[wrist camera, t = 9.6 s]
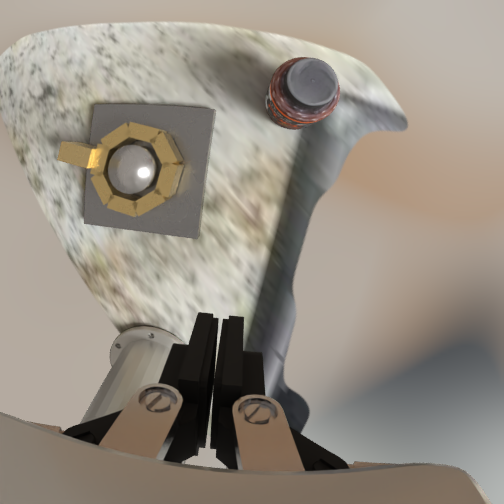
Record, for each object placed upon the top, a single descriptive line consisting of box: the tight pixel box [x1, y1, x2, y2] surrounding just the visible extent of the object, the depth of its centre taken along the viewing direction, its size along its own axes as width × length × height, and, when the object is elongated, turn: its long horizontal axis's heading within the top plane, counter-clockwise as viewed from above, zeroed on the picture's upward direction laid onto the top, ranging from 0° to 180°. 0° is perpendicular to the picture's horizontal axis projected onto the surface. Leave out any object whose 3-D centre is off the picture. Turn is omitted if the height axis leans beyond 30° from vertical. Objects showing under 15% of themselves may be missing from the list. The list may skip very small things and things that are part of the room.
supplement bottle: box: [265, 57, 340, 130], centre depth 26 cm, size 6×6×11 cm
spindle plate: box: [84, 104, 216, 239], centre depth 31 cm, size 14×16×5 cm
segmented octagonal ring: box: [57, 122, 184, 217], centre depth 29 cm, size 13×9×4 cm
